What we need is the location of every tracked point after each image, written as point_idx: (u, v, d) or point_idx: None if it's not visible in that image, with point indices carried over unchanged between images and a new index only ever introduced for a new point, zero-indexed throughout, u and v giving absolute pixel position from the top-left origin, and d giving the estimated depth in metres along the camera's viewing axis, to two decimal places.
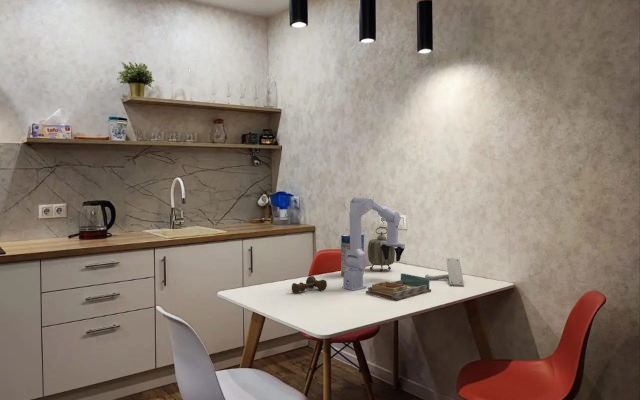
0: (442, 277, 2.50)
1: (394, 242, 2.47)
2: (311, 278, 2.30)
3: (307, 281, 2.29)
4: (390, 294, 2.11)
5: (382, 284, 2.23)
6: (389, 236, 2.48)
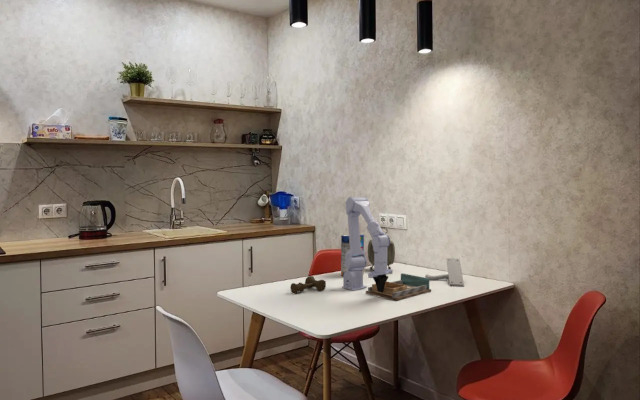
0: (442, 277, 2.50)
1: (374, 270, 2.13)
2: (310, 278, 2.29)
3: (306, 281, 2.29)
4: (390, 294, 2.11)
5: None
6: None
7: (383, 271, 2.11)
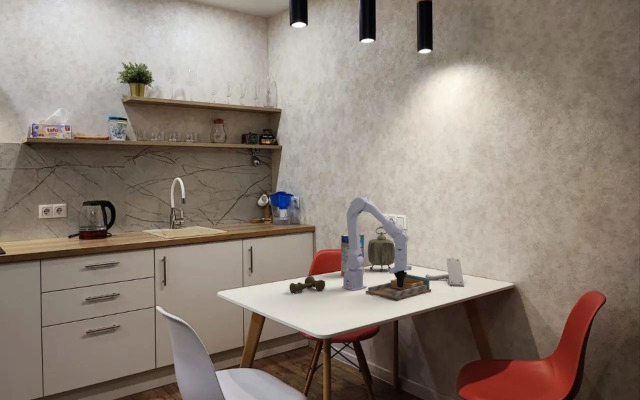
0: (442, 277, 2.50)
1: (394, 266, 2.22)
2: (310, 278, 2.29)
3: (306, 281, 2.29)
4: None
5: None
6: None
7: (403, 267, 2.20)
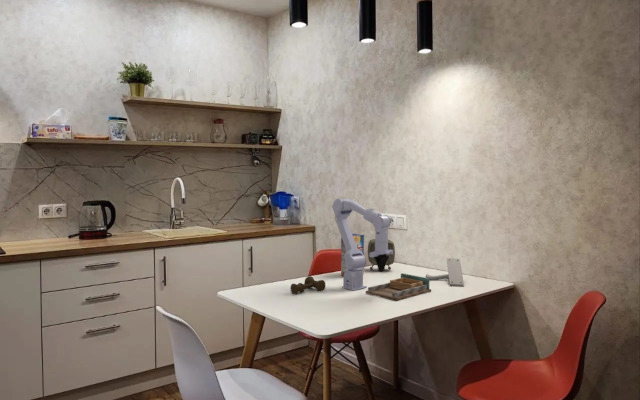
0: (442, 277, 2.50)
1: (375, 250, 2.19)
2: (309, 278, 2.29)
3: (305, 281, 2.28)
4: None
5: (399, 280, 2.32)
6: None
7: (384, 251, 2.17)
